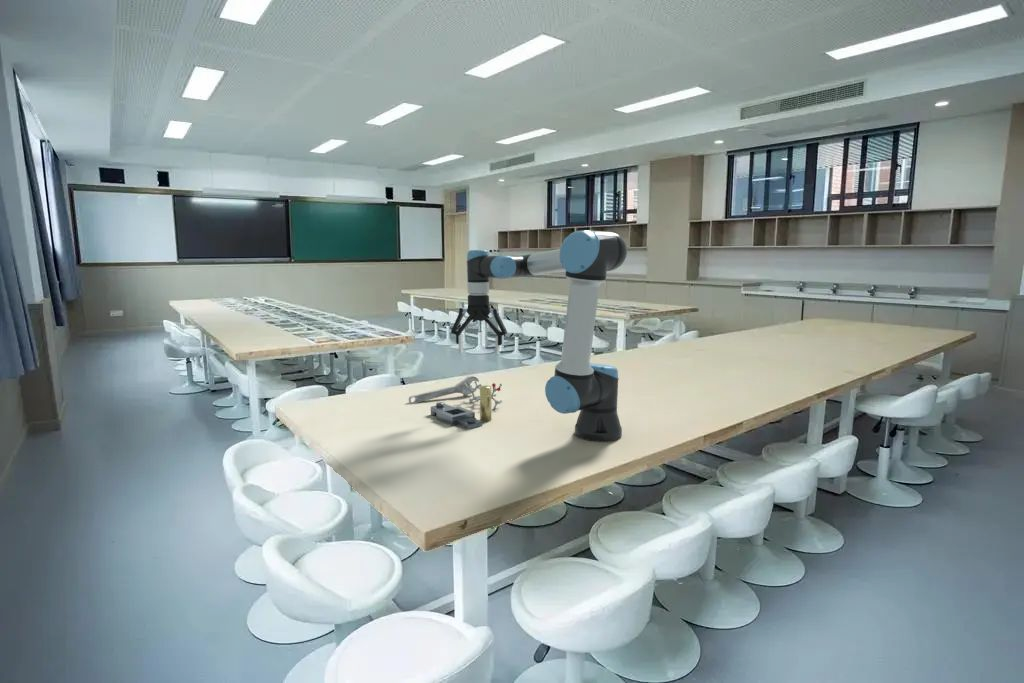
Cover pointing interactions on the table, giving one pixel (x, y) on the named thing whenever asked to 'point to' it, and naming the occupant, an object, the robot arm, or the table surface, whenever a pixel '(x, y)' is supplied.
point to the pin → (485, 403)
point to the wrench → (445, 391)
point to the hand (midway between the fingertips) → (479, 353)
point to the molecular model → (479, 396)
